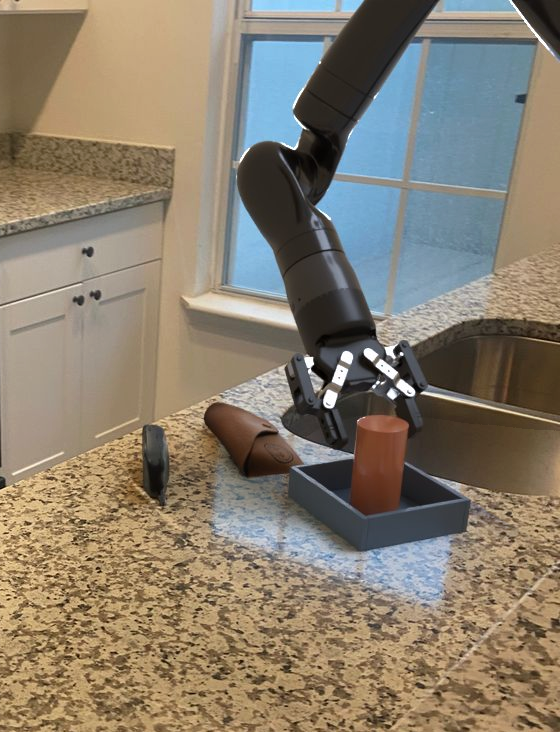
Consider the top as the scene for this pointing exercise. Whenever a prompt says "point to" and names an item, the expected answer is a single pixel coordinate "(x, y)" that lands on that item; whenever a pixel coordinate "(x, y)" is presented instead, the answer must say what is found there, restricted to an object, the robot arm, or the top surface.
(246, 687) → the top surface
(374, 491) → the reddish orange cylinder
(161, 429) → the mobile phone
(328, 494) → the plastic tray
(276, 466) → the sunglasses case
